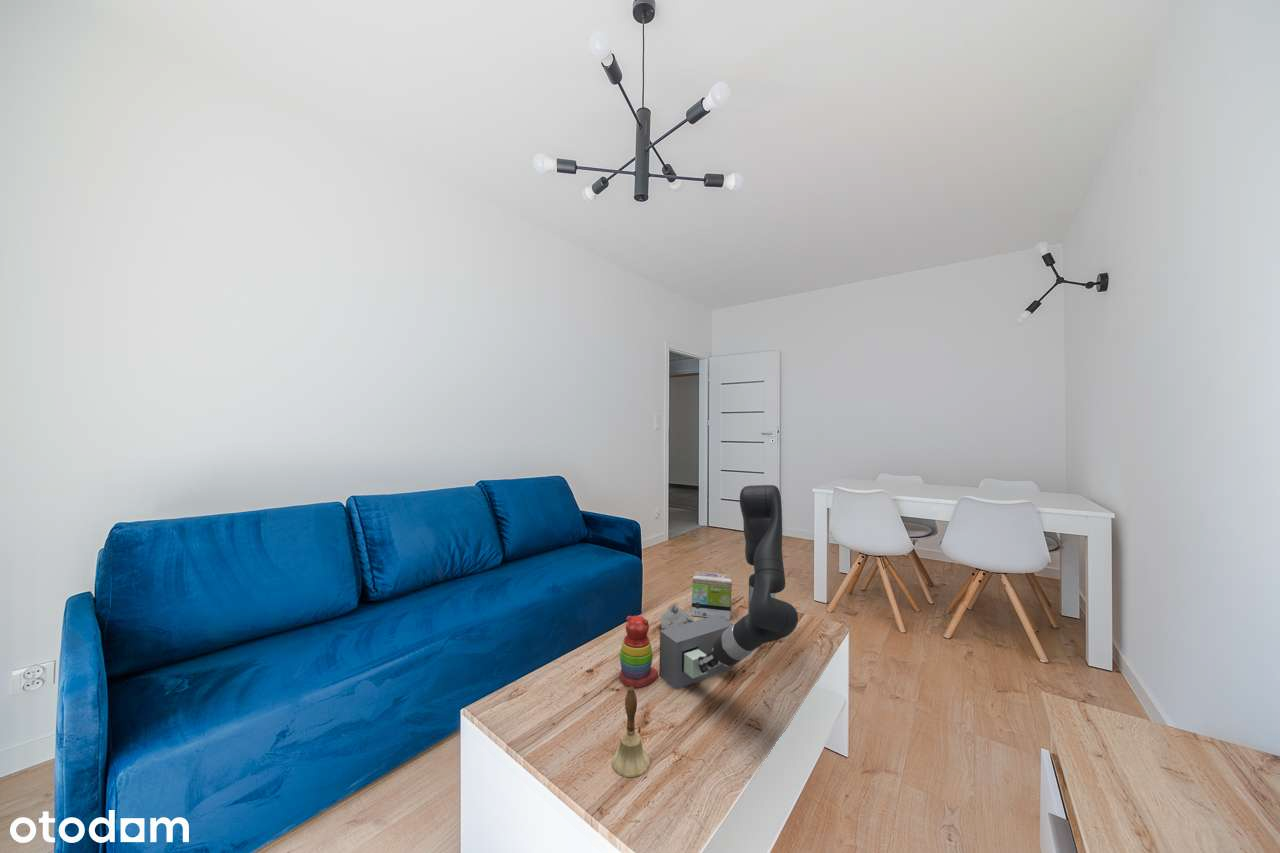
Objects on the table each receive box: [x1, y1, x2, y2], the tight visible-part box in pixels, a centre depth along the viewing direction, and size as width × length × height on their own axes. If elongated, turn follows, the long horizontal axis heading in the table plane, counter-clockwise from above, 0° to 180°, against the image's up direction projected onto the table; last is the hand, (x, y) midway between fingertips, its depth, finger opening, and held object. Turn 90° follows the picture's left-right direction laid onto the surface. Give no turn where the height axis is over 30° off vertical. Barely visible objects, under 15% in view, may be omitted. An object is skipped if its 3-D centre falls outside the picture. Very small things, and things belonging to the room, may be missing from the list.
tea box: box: [691, 570, 733, 621], centre depth 170 cm, size 15×10×15 cm, turn 81°
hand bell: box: [611, 686, 651, 778], centre depth 93 cm, size 8×8×16 cm
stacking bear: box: [619, 615, 659, 688], centre depth 125 cm, size 11×10×18 cm
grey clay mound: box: [659, 603, 695, 630], centre depth 155 cm, size 12×12×11 cm
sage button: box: [684, 649, 707, 678], centre depth 120 cm, size 5×4×5 cm
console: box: [658, 615, 735, 690], centre depth 129 cm, size 22×8×13 cm, turn 122°
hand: (702, 668), depth 118 cm, fingers closed
